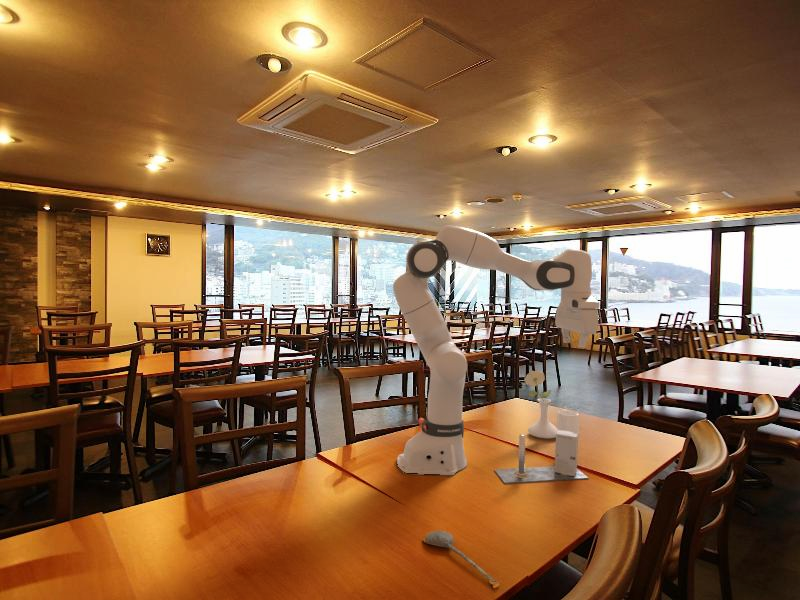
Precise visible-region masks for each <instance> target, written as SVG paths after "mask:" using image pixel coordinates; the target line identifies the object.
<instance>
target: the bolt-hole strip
mask: <svg viewBox="0 0 800 600" xmlns="http://www.w3.org/2000/svg"><path fill="white" fill-rule="evenodd" d="M518 470H519V467H515V468H514V467H513V468H497V469H494V471H493V472H494V473H495V474H496V473H497V474H496V475H497V476H498V477H499V479H500V480H501V481H502V483H503V482H504V483H503V484H504V485H508V484H509V485H512V484H524V483H525V484H526V483H529V484H530V483H541V482H542V483H544V482H545V483H546V482H562V481H576V480H577V481H579V480H581V481H582V480H589V476H587V475H586V474H584V473H583V471H581V470H580V469H578V468H577V471H576V474H575V476H570V475H565V474H561V473H557V472H555V471H554V470H555V465H551V466H550V465H549V466H534V467H525V472H527V476H524V477H521V476H518V475H517V474H516V472H517V471H518Z"/></svg>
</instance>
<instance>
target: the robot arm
mask: <svg viewBox="0 0 800 600" xmlns="http://www.w3.org/2000/svg"><path fill="white" fill-rule="evenodd" d="M405 260H406V261H405V262H406V265H405V273H403V274H401V275H400V276H398V277H397V278H396V279H395V280H394V282H393V285H392V291H393V293H394V297H395V299H396V300H395V301H396V303H397V305H398V308H399V311H400V312H401V314H402V316H403V318H404V320H405V322H406V324H407V326H408V328H409V330H410V332H411V334H412V335H413V336H412V337H414V339H415V343H416V344H417V346H418V348H419V350H420V352H421V354H422V356H423V358H424V360H425V363H426V364H427V366H428V367H429V370H430V375H429V376H430V377H429V387H428V388H429V389H428V393H427V418H426V419H424V418H423V417H419V419H418V424H419V425H420V427H421V431H419V432H417V433H416V434H415V435H414V436H412V437H411V438H409V439H408V440H407V441H406V443H405V447H404V449H403V453H400V454H398V456H397V458H396V465H397V464H398V465H397V467H399V468H400V469H401V470H402V471H404V472H406V473H418V474H417V475H424V474H440V475H439V476H454V475H456V474H457V473H456V472H459V471H461V470H463V469H465V468H466V467H467V466H468V461H467V458H466V454H465V447H464V439H463V438H464V434H465V423H464V420H463V399H464V398H463V396H464V389H465V383H466V376H467V371H468V362H467V361H468V360H467V358H466V355H465V354H464V352H463V351H462V350H461V349H460V348H458V346H456V344H455V343H454V340H453V338H452V336H451V333H450V331H449V329H448V325H447V324H446V320H445V319H444V316H443V315H442V312H441V311H440V308H439V307H438V305H437V303H436V300H435V299H434V297H433V295H432V293H431V291H430V288H429V285H428V280H429V278H431V277H434V276H436V274H438V273H439V272H440V271H441V269H442V268H443V266H444V265H445V264H446V262H447V261H451V262H456V263H459V264H462V265H464V266H468V267H472V268H475V269H481V270H491V271H492V270H493V271H498V272H502V273H504V274H507V275H510V276H512V277H514V278H517V279H519V280H521V281H522V282H523V283H524V284H525V285H526V286H527V287H528V288H530V289H532V290H534V291H556V290H559V289H560V291H561V292H560V302H559V304H558V306H557V307H556V311H555V318H554V319H555V326H556V328H559V329H561V335H562V339H563V343H565V344H571V337H570V331H571V332H575V333H578V334H579V337H580V338H579V340H578V341H577V347H578V348H582V349H585V348H586V347H587V341H588V338H589V335H595V334H597V332H598V327H599V312H598V310H599V309H600V305H601V304H600V301H598V300H597V299H596V298H594V297H593V296H592V289H591V282H592V278H593V271H592V270H593V268H592V267H593V265H592V264H593V263H592V257H591V255H590V253H588V252H587V251H585V250H582V249H577V248H576V249H574V248H568V249H565V250H564V251H563V252H561V253H560V254H558V255H556V256H554V257H551V258H548V259H544V260H539V259H537V260H526V259H523V258H520V257H518V256H515V255H512V254H510V253H508V252H505V251H504V250H503V249H502V248H501V247H500V245H499V242H498V241H497V240H496V239H494V238H493V237H491V236H489V235H487V234H485V233H483V232H481V231H477V230H475V229H472V228H468V227H464V226H459V225H453V224H447V225H444V226H443V227H442V228H440V230H439V231H438V233H437V234H436V237H435V239H432V240H428V241H427V240H426V241H419V242H417V243H415V244H413V245H412V246H411V247H410V248H409V249H408V251H407V253H406V259H405ZM399 468H398V469H399ZM400 469H399V470H400ZM401 470H400V471H401ZM402 471H401V472H402ZM404 472H403V473H404ZM406 473H405V474H406ZM455 473H456V474H455Z"/></svg>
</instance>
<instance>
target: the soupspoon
mask: <svg viewBox="0 0 800 600" xmlns="http://www.w3.org/2000/svg"><path fill="white" fill-rule="evenodd" d="M425 536H426V537H425ZM425 536H424V537H425V541H426V543H425V544H429V545H432V546H437V547H442V548H447V549H450V550H451V551H453V552H454V553H456V554H457V555H458V556H460V557H461V558H462V559H464V560H465V561H466V562H468V563H469V564H470V565H472V566H473V568H475V569H476V570H477V571H478V572H480V574H482V575H483V577H484V578H485V577H486V578H485V579H487V578H488V580H490V581H491V582H495V581H496V580H495V579H493V578H492V576H489V573H487V572H485V570H483V569H482V568H481V567H480V566H479V565H478V564H476V563H475V562H474V561H473V560H471V559H470V557H468V556H467V555H465V554H464V553H463V552H461V551H460V550H459V549H457V548H456V547H454V546H453V544H454V536H453V535H452V534H451V533H449V532H447V531H443V530H434V531H431V532H429V533H428V534H426V535H425ZM488 580H487V581H488ZM497 583H499V584H500V582H499V581H496V582H495V583H494V584H493V585H495V584H497Z"/></svg>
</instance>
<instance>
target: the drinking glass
mask: <svg viewBox="0 0 800 600" xmlns="http://www.w3.org/2000/svg"><path fill="white" fill-rule="evenodd" d="M556 419H557V424H556V425H557V429H558V430H562V431H569V432H573V433H578V434H579V429H580V413H579V412H577V411H575V410H570V409H561V410H558V411H557V418H556Z"/></svg>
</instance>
